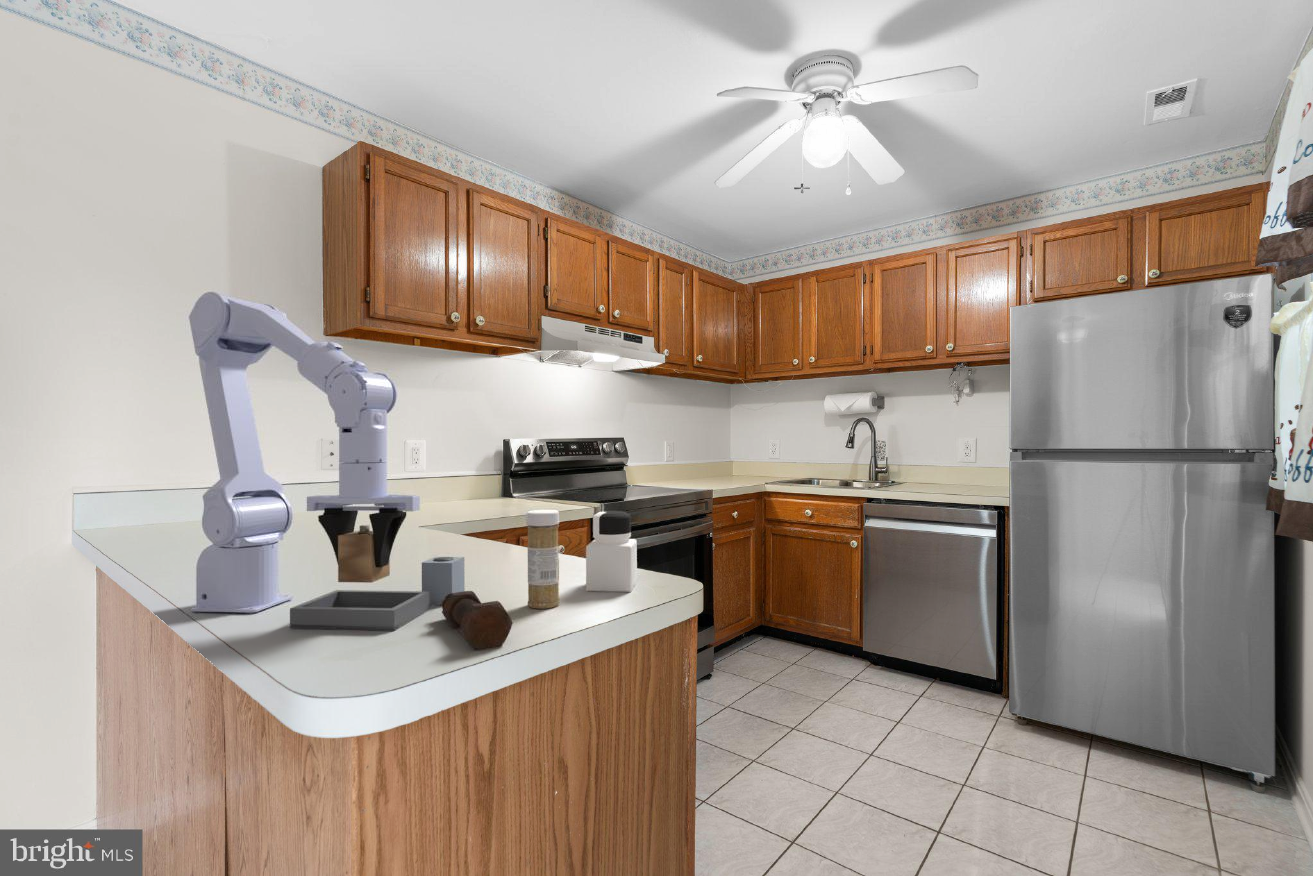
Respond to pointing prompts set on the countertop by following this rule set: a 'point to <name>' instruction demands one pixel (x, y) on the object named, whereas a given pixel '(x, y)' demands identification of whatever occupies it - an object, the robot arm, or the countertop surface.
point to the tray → (360, 610)
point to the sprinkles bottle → (543, 558)
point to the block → (359, 557)
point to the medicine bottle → (611, 554)
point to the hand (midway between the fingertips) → (363, 565)
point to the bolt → (477, 619)
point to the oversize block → (442, 577)
